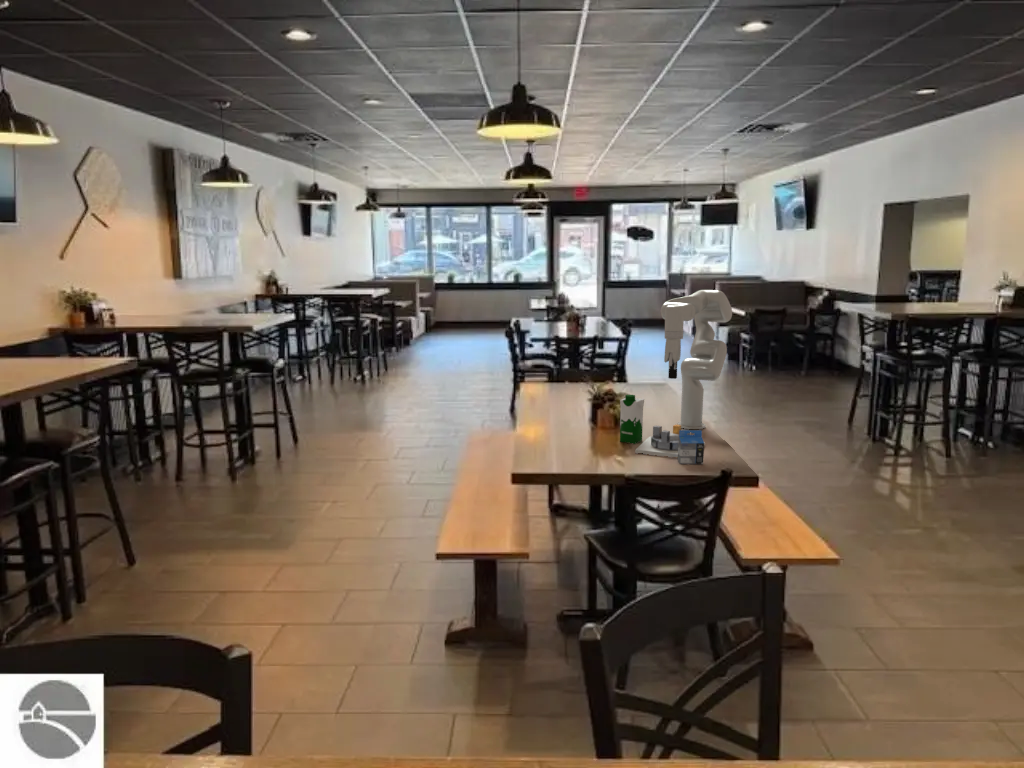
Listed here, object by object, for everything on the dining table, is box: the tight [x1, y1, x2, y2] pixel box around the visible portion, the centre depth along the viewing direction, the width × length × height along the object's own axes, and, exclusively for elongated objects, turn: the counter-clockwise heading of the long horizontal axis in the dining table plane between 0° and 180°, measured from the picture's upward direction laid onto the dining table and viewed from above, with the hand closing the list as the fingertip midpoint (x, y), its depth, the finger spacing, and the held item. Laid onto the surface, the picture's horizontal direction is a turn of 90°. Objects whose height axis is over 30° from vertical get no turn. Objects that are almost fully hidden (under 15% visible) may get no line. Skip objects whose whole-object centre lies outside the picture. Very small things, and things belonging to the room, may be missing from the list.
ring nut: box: [651, 424, 691, 451], centre depth 295 cm, size 15×15×7 cm
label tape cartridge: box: [677, 429, 705, 465], centre depth 276 cm, size 9×4×12 cm, turn 91°
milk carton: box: [619, 394, 645, 445], centre depth 307 cm, size 9×9×20 cm
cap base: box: [634, 432, 706, 458], centre depth 295 cm, size 23×23×6 cm
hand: (672, 378), depth 308 cm, fingers closed
